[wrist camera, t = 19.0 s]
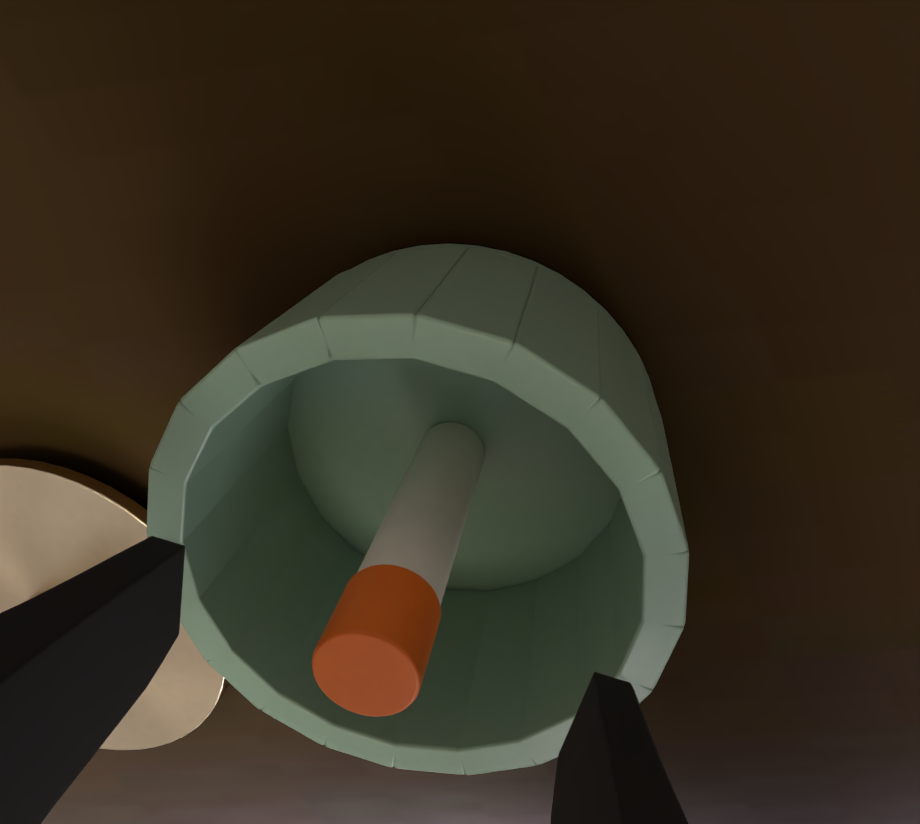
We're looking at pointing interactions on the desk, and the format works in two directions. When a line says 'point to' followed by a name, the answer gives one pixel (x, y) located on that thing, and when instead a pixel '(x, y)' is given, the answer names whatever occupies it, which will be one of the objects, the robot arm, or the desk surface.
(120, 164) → the desk surface
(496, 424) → the canister
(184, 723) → the canister lid
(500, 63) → the desk surface
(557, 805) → the robot arm
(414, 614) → the marker
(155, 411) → the desk surface
